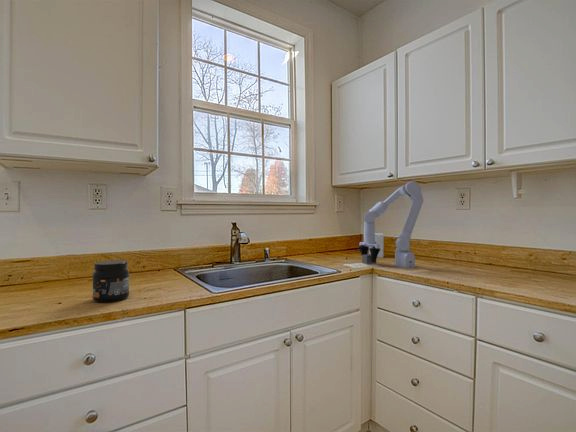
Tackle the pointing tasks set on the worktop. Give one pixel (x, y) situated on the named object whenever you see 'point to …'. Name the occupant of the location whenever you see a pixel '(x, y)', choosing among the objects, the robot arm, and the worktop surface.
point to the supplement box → (379, 240)
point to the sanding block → (367, 260)
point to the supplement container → (110, 281)
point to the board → (359, 265)
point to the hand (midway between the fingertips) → (369, 260)
